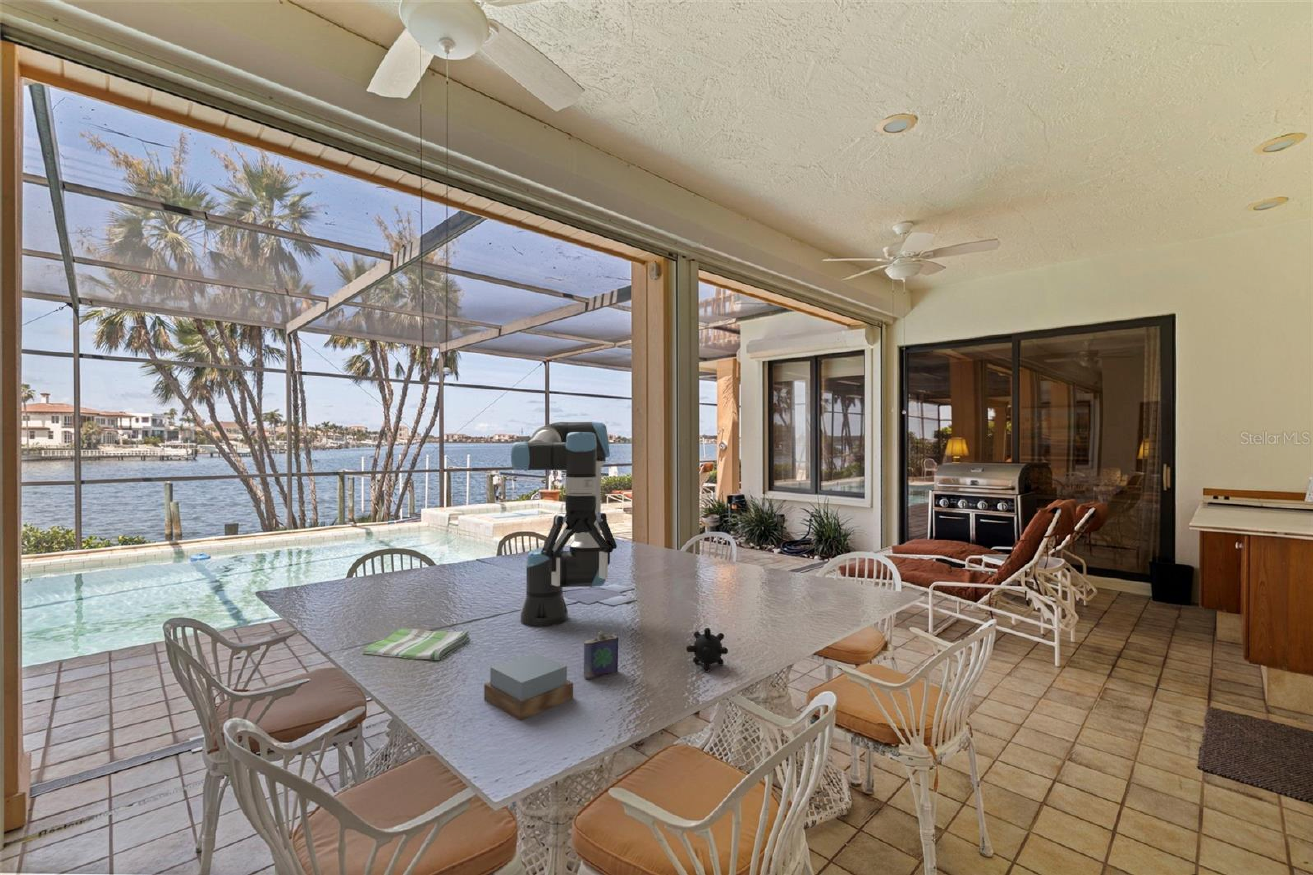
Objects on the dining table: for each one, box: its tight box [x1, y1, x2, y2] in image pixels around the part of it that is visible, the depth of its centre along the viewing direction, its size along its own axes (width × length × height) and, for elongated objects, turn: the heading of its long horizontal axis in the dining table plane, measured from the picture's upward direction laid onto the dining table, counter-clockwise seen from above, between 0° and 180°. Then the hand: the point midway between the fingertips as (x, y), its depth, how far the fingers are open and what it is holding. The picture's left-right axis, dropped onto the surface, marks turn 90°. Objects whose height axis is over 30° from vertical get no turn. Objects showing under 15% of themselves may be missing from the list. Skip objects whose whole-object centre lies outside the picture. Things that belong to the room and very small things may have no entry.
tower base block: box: [483, 679, 574, 721], centre depth 127 cm, size 14×14×4 cm
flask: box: [583, 630, 620, 680], centre depth 140 cm, size 9×3×11 cm, turn 121°
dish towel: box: [363, 628, 471, 661], centre depth 159 cm, size 17×23×4 cm
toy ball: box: [686, 627, 729, 672], centre depth 146 cm, size 11×11×12 cm
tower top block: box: [489, 652, 568, 702], centre depth 126 cm, size 12×12×4 cm
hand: (580, 581), depth 138 cm, fingers open, 13 cm apart
